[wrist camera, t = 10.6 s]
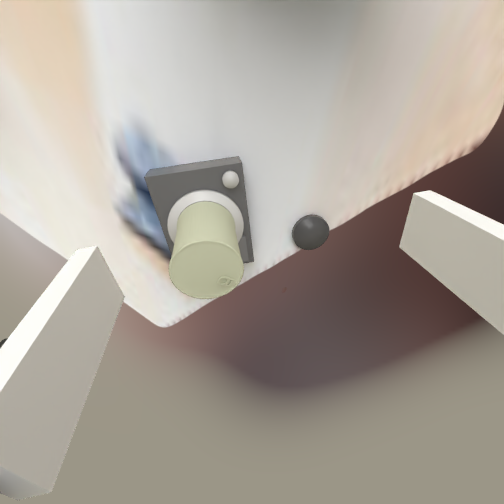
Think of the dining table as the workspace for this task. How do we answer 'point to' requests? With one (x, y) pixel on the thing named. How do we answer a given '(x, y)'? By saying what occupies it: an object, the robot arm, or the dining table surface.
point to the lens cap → (310, 232)
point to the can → (206, 252)
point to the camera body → (201, 195)
